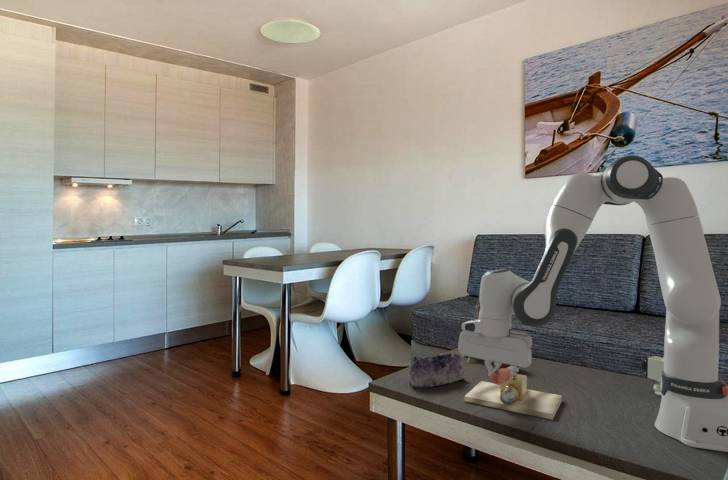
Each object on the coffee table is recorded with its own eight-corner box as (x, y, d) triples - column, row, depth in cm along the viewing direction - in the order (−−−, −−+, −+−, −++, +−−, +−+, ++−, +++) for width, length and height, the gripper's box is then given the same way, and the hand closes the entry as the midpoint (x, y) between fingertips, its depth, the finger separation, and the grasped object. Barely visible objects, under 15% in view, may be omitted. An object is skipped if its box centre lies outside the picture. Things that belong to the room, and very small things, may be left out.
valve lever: (511, 373, 137) (511, 363, 137) (520, 375, 135) (520, 364, 135) (490, 384, 127) (491, 373, 127) (499, 387, 125) (499, 375, 125)
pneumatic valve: (682, 403, 135) (683, 362, 134) (640, 391, 145) (641, 352, 144) (691, 399, 138) (692, 359, 137) (649, 388, 148) (650, 350, 147)
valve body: (530, 391, 140) (530, 371, 140) (517, 408, 127) (518, 386, 126) (509, 387, 143) (510, 368, 143) (495, 404, 130) (495, 382, 130)
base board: (561, 400, 136) (562, 395, 136) (552, 419, 122) (552, 413, 122) (481, 385, 148) (481, 381, 148) (464, 401, 134) (464, 396, 134)
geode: (427, 394, 140) (424, 361, 141) (402, 388, 150) (399, 357, 150) (471, 378, 153) (468, 348, 153) (445, 374, 162) (442, 345, 163)
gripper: (536, 331, 125) (534, 381, 126) (466, 320, 138) (464, 366, 138) (528, 335, 120) (526, 387, 121) (456, 323, 133) (454, 371, 133)
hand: (492, 376), depth 130 cm, fingers closed
